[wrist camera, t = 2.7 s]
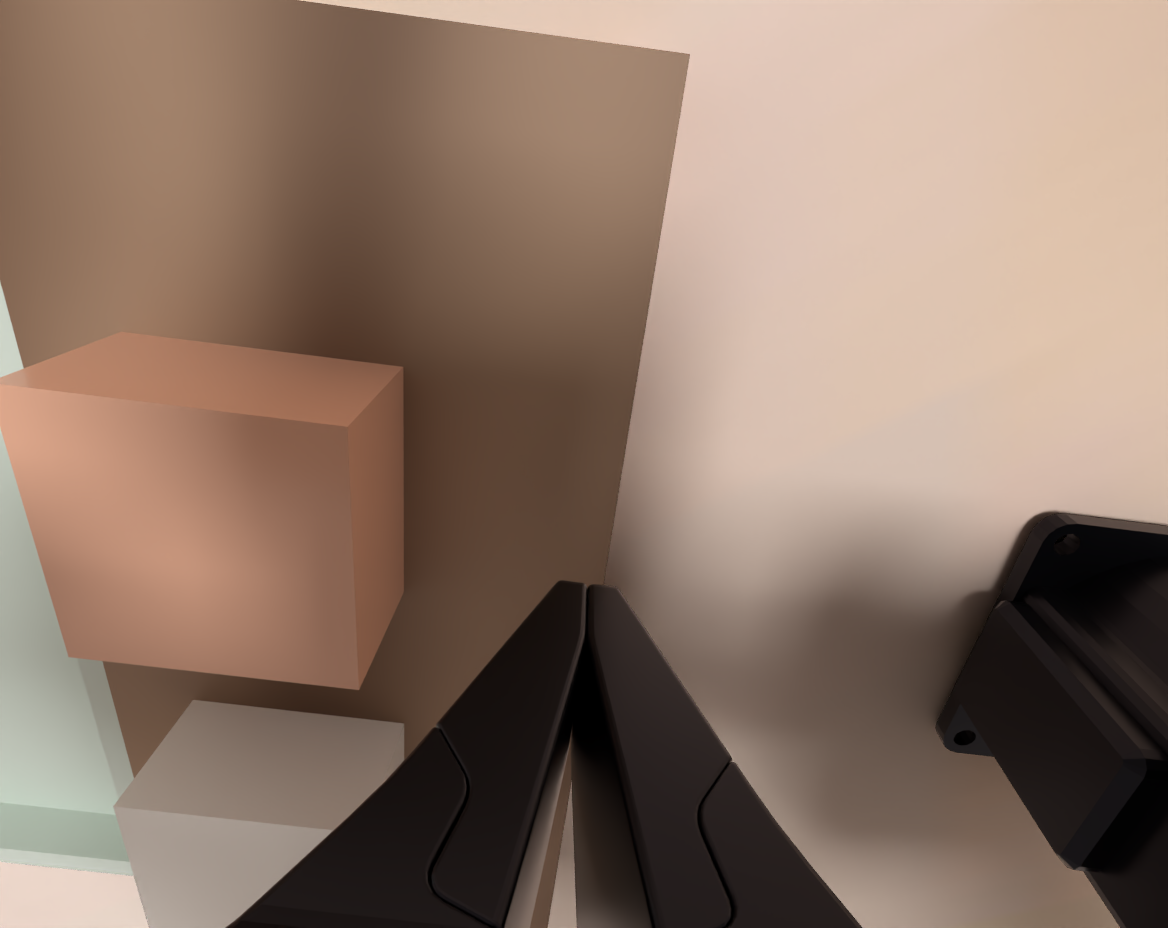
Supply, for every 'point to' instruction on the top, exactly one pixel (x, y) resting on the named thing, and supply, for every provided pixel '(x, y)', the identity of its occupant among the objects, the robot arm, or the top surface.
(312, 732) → the cream tile
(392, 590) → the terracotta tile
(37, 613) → the green tray
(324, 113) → the walnut board
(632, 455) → the top surface
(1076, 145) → the top surface
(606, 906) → the robot arm
